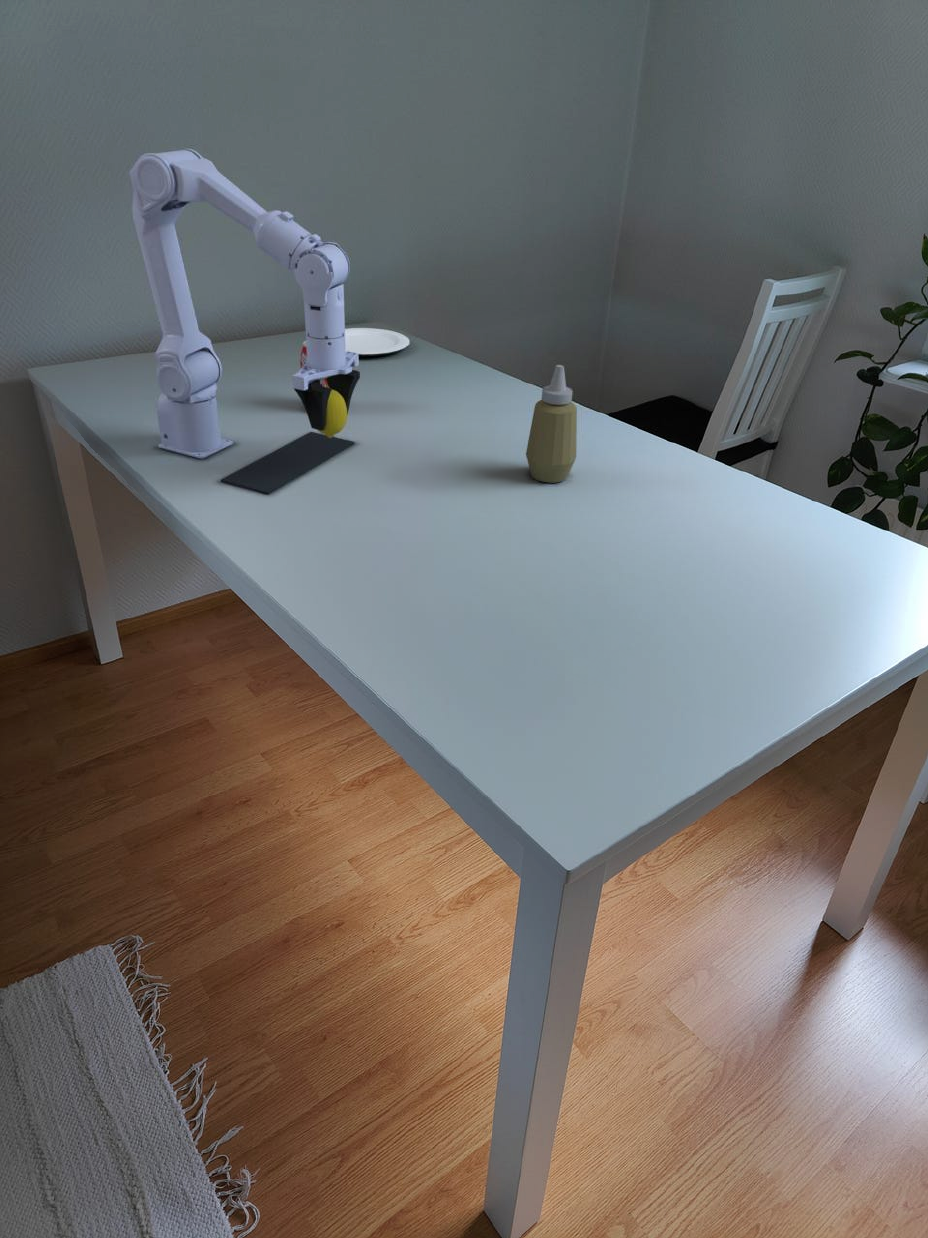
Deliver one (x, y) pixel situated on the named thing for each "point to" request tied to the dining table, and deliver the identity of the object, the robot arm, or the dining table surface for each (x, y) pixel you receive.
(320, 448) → the mat
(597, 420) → the dining table surface
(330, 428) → the lemon
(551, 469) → the squeeze bottle
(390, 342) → the plate
